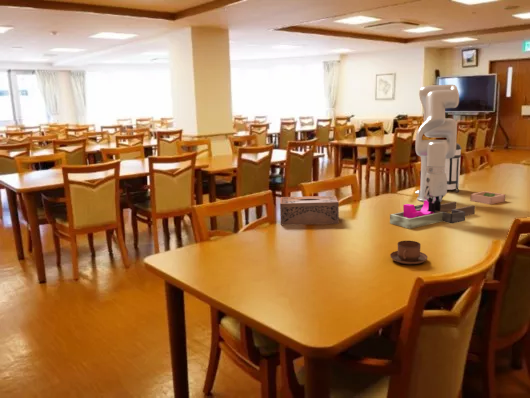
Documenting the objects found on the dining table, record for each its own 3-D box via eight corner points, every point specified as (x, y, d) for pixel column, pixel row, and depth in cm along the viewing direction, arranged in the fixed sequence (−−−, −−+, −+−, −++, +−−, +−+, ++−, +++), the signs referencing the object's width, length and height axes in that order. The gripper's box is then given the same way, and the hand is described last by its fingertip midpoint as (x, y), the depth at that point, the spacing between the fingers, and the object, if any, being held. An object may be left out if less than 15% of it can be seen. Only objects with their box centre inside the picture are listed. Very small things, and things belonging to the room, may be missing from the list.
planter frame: (470, 200, 247) (470, 194, 246) (484, 197, 252) (485, 191, 252) (490, 204, 237) (490, 197, 236) (505, 201, 243) (505, 194, 242)
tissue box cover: (280, 225, 213) (280, 203, 211) (281, 217, 227) (280, 197, 225) (338, 224, 212) (338, 202, 210) (335, 216, 226) (335, 195, 224)
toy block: (414, 223, 206) (414, 206, 204) (403, 221, 211) (403, 204, 210) (438, 218, 213) (438, 201, 212) (427, 216, 218) (427, 200, 217)
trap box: (381, 221, 213) (381, 212, 212) (445, 207, 233) (445, 199, 232) (418, 231, 195) (419, 221, 194) (484, 216, 215) (484, 207, 214)
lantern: (426, 190, 278) (428, 138, 272) (447, 187, 285) (449, 136, 279) (449, 194, 263) (452, 140, 257) (470, 191, 269) (473, 138, 263)
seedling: (487, 211, 242) (486, 203, 246) (499, 204, 237) (498, 196, 241) (479, 204, 240) (478, 197, 244) (491, 197, 235) (490, 190, 239)
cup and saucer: (429, 267, 154) (430, 249, 153) (391, 266, 157) (391, 248, 155) (424, 255, 166) (425, 238, 164) (389, 254, 168) (389, 238, 167)
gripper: (430, 172, 202) (428, 215, 205) (455, 169, 210) (453, 209, 213) (416, 171, 208) (415, 212, 212) (441, 167, 216) (439, 207, 220)
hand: (434, 210), depth 212 cm, fingers open, 2 cm apart
